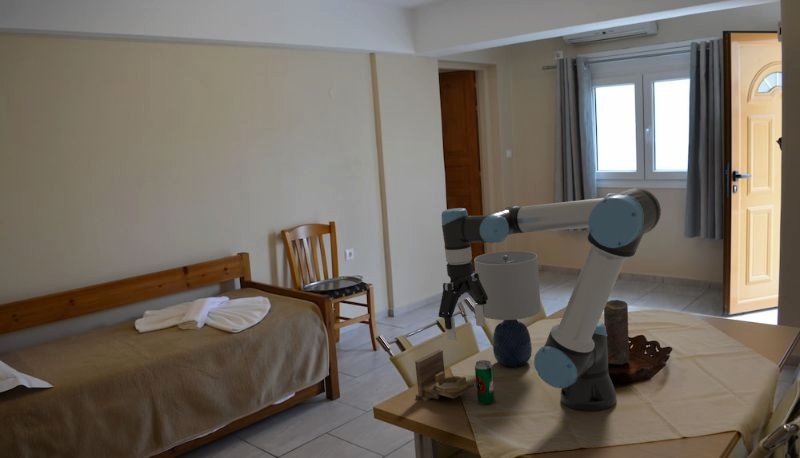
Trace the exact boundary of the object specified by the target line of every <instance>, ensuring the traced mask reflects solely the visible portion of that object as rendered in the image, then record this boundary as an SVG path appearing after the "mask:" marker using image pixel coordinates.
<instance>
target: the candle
mask: <svg viewBox="0 0 800 458" xmlns="http://www.w3.org/2000/svg"><path fill="white" fill-rule="evenodd" d="M628 306H629V305H628V303H627V301H625V300H620V299H613V300H608V301H607V303H606V305H605V308H604V310H603V318H604V320H603V321H604V322H603V324H604V325H605V327H606V334H607V351H608V365H609V364H611V365H615V366H622V365H625V364H626V363H627V362H629V361H630V346H629V345H630V342H629V341H630V340H629V339H630V338H629V313H628V309H629V307H628Z"/></svg>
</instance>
